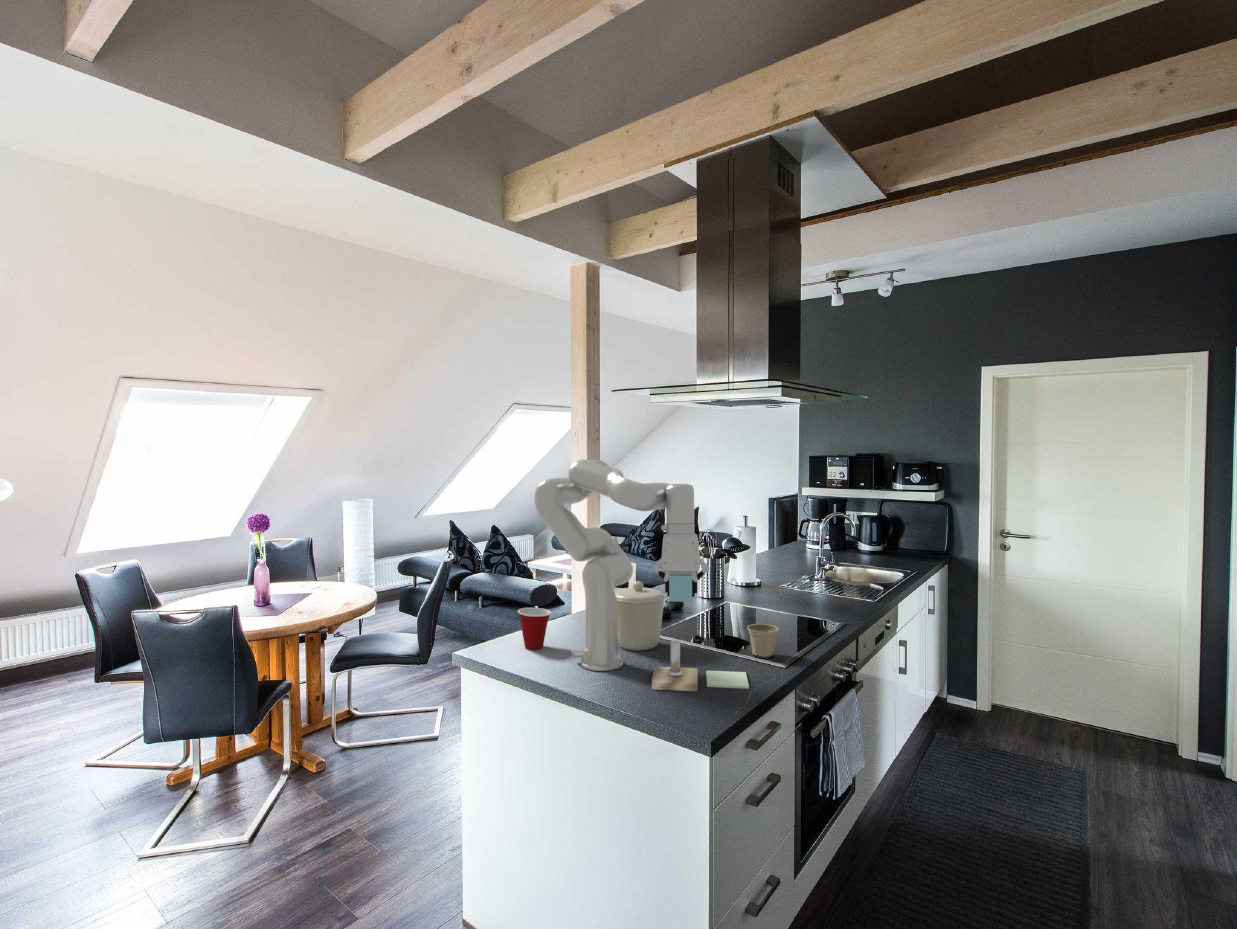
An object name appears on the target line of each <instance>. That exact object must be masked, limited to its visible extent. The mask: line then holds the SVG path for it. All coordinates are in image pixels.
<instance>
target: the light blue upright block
mask: <svg viewBox="0 0 1237 929" xmlns="http://www.w3.org/2000/svg"><path fill="white" fill-rule="evenodd" d="M692 581H693V578H692V575H691V573H690V572H671V574H670V575H669V602H673V603H674V602H675V603H676V602H681V603H684V602H685V603H686V602H687V603H692V602H693V599H694V597H693V596H692Z"/></svg>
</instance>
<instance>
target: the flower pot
mask: <svg viewBox="0 0 1237 929" xmlns="http://www.w3.org/2000/svg"><path fill="white" fill-rule="evenodd" d="M746 628H747V630H748V633H749V636H750V645H751V652H752V655H753V654H754V655H759V656H767V655H772V654H773V653H774V652H775V644H776V638H777V637H776V636H778V635H777V634H778V631H779V627H777V626H776V625H772V624H767V623H766V624H765V623H756V624H755V623H754V624H749V625H748V626H747V627H746ZM773 655H774V654H773Z"/></svg>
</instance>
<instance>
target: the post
mask: <svg viewBox="0 0 1237 929" xmlns="http://www.w3.org/2000/svg"><path fill="white" fill-rule="evenodd" d="M670 667H671V669H669V670H668V676H670V677H681V676H683V671H682V670H680V668H681V641H680V640H677V639H675V640H671V641H670Z"/></svg>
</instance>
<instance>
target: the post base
mask: <svg viewBox="0 0 1237 929" xmlns="http://www.w3.org/2000/svg"><path fill="white" fill-rule="evenodd" d="M669 669H671V666H654V669H653V673H652V678H651V690H660V691H678V692H679V691H680V692H681V691H683V692H698V690H699V689H698V685H699V684H698V683H699V682H698V678H699V677H698V674H699V673H698V671H699V670H698V668H696V667H695V668H694V667H680V670H682V671H683V676H681V677H670V676H668V670H669Z"/></svg>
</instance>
